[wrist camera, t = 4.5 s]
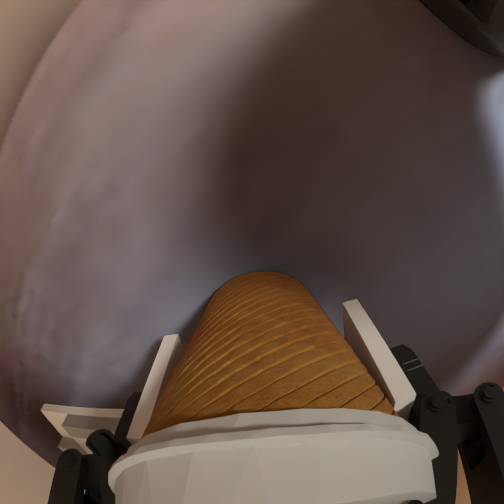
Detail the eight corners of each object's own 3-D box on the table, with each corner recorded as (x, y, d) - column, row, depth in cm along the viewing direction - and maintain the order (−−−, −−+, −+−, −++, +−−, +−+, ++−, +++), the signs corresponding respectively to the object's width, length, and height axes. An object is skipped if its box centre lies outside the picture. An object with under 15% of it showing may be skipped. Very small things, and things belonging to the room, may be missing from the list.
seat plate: (180, 407, 19) (175, 433, 16) (233, 486, 24) (232, 504, 21) (44, 403, 19) (34, 420, 17) (117, 480, 24) (113, 495, 22)
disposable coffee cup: (215, 395, 18) (199, 564, 6) (148, 272, 15) (22, 471, 3) (356, 357, 17) (424, 524, 6) (326, 214, 14) (508, 401, 2)
